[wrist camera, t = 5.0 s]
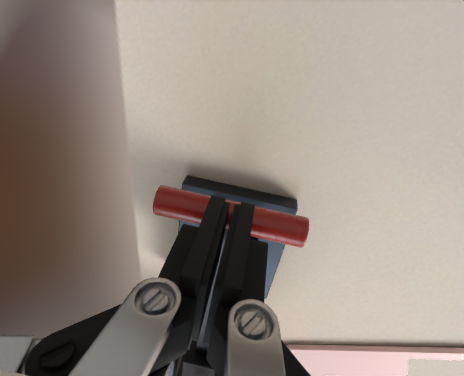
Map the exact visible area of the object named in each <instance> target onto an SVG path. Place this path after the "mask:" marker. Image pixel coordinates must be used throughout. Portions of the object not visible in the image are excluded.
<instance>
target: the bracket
mask: <svg viewBox="0 0 464 376" xmlns="http://www.w3.org/2000/svg"><path fill="white" fill-rule="evenodd" d="M182 190H185V191H190V192H194V193H199V194H203V195H208V196H211V195H215V196H220V197H224V198H226V200H230V201H235V202H239V203H241V201H242V202H247V203H251V204H255V206H257V207H262V208H266V209H271V210H275V211H280V212H284V213H289V214H293V215H296V212H297V200H296V199H292V198H287V197H283V196H278V195H274V194H269V193H264V192H260V191H255V190H251V189H246V188H242V187H237V186H233V185H228V184H224V183H219V182H215V181H210V180H206V179H201V178H196V177H192V176H187V177H186V178H185V180H184V182H183V184H182ZM183 224H187V225H192V226H196V227H199V226H200V225H199V224H195V223H190V222H186V221H182V220H179V229H178V233H179V231H180V229H181V227H182V225H183ZM250 239H253V240H258V241H262V242H266V243H268V255H267V269H266V282H265V296H264V299H266V298H267V295H268V292H269V289H270V287H271V284H272V281H273V278H274V275H275V272H276V269H277V266H278V264H279V261H280V258H281V255H282V252H283V249H284V246H285V244H283V243H278V242H274V241H270V240H265V239H261V238H256V237H252V236H250ZM181 359H182V356H181V357H179V358H178V359H176V360H174V363H173V366H172V368H171V371H170V373H169V375H168V376H177V372H178V369H179V365H180V362H181Z"/></svg>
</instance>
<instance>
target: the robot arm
mask: <svg viewBox="0 0 464 376" xmlns="http://www.w3.org/2000/svg"><path fill="white" fill-rule="evenodd" d="M225 200H226V198H224V197H220V196H215V195H211V197H210V200H209V202H208V205H207V207H206V210H205V213H204V215H203V218H202V220H201V223H200V226H199V227H196V226H192V225H187V224H183V225H182V227H181V229H180V231H179V233H178V236H177V238H176V240H175V242H174V244H173V246H172V248H171V251H170V253H169V255H168V257H167V259H166V261H165V264H164V266H163V268H162V270H161V272H160V274H159V276H158V278H150V279H146V280H144V281H142V282H140V283H138V284H137V285H136V287H134V288H133V290H132V291H131V292H130V294H129V295H128V296H127V298H126V299H125V301H124V302H123V303H122V304H121V305H118V306H116V307H113V308H111V309H109V310H106V311H104V312H102V313H99V314H97V315H95V316H92V317H90V318H88V319H85V320H83V321H81V322H78V323H76V324H73V325H71V326H69V327H66V328H64V329H62V330H59V331H57V332H55V333H52V334H51V335H49V336H47V337H45V338H43V339H35V336H34V335H0V376H168V375H169V373H170V371H171V368H172V366H173V363H174V360H176V359H178V358H179V357H181V356H183V355H184V354H186V352H187V350H189V348H190V345H191V341H192V340H194V341H198V339H199V335H200V331H201V328H202V324H203V320H204V316H205V312H206V308H207V304H208V301H209V297H210V293H211V289H212V285H213V281H214V278H215V274H216V270H217V266H218V262H219V258H220V253H221V248H222V243H223V238H224V233H225V228H226V223H227V218H228V213H229V207H230V203H229V202H225ZM254 209H255V204H251V203H247V202H242V201H241V204H240V205H238V204H235V205H234V209H233V212H232V216H231V220H230V224H229V228H228V232H227V236H226V240H225V244H224V248H223V252H222V256H221V259H220V263H219V267H218V271H217V275H216V279H215V284H214V288H213V293H212V298H211V304H210V309H209V314H208V319H207V324H206V329H205V334H204V339H203V343H206V344H209V347H208V352H207V357H206V359H207V361H208V362H209V364H210V366H211V367H212V369H213V371H214V376H311V375H310V374H309V373H308V372H307V370H306V369H305V368H304V367H303V366H302V364H301V363H300V362H299V361H298V360H297V358H296V357H295V356H294V355H293V353H292V352H291V351H290V350H289V349H288V347H287V346H286V345H285V344H284V343H283V341H282V340H281V335H280V328H279V322H278V319H277V316H276V314H275V313H274V311H273V310H272V309H271V308H270V307H269V306H268V305H267V304H265V303H264V296H265V282H266V269H267V255H268V243H266V242H262V241H258V240H253V239H250V235H251V228H252V222H253V215H254Z"/></svg>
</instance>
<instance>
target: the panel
mask: <svg viewBox="0 0 464 376" xmlns="http://www.w3.org/2000/svg"><path fill="white" fill-rule="evenodd" d="M286 346H287V347H288V349H289V350H290V351H291V352H292V353H293V355H294V356H295V357H296V358H297V360H298V361H299V362H300V363H301V364H302V366H303V367H304V368H305V369H306V370H307V372H308V373H309V374H310V375H311V376H407V375H408V368H409V360H410V359H434V360H464V348H448V347H397V346H345V345H294V344H289V345H286Z"/></svg>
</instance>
